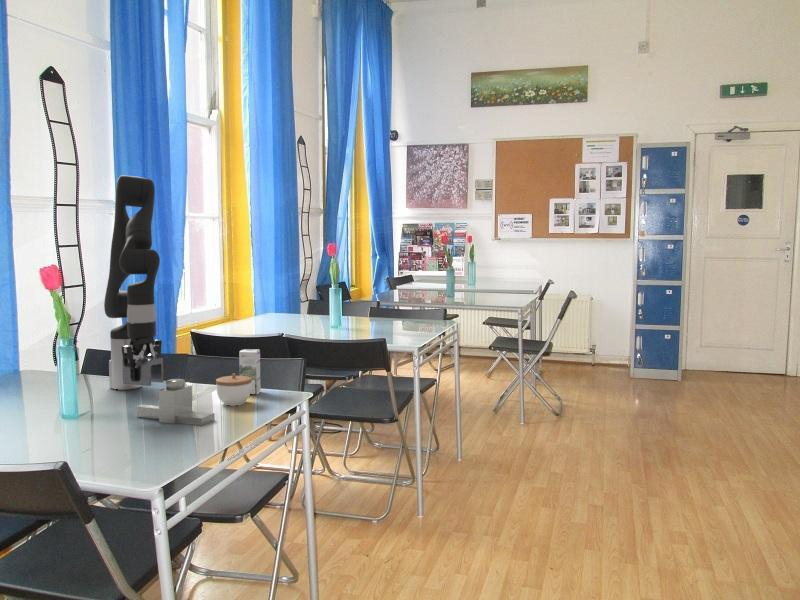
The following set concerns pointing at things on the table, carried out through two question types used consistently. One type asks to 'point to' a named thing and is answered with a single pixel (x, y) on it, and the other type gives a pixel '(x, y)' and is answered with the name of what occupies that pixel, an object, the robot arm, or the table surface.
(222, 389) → the lidded jar
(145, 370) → the coupler lock
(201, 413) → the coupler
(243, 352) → the syrup box
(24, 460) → the table surface
